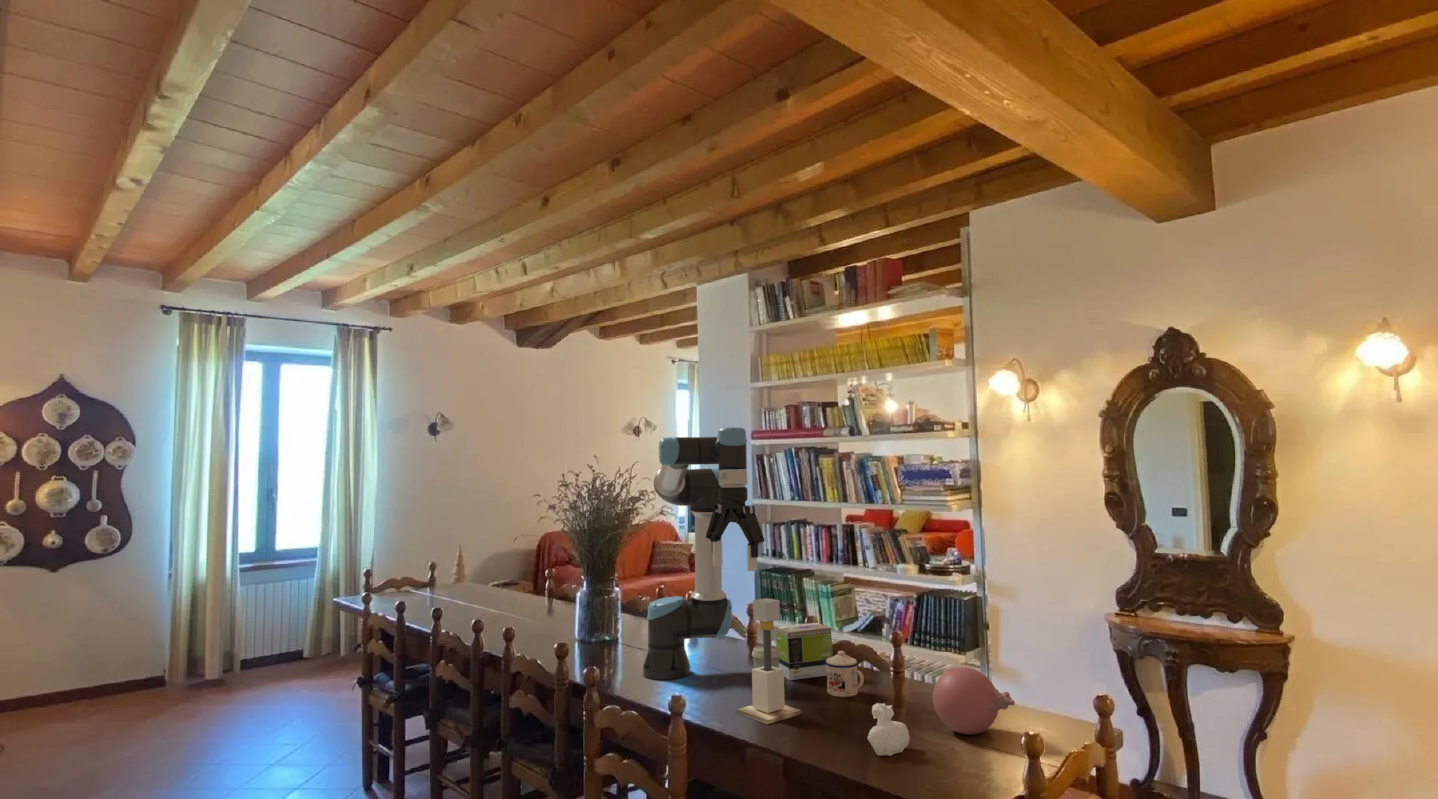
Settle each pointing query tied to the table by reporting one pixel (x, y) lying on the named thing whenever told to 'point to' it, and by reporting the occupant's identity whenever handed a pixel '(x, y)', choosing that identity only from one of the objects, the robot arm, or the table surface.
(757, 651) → the coffee cup
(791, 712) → the tan slab base
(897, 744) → the bust
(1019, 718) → the table surface
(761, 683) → the marker sleeve
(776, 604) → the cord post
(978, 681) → the balloon
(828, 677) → the teacup with lid
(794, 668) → the tea box
